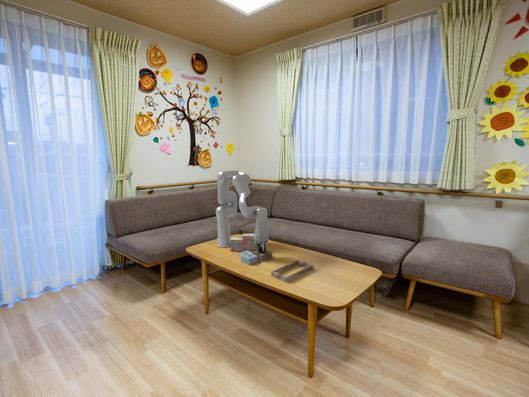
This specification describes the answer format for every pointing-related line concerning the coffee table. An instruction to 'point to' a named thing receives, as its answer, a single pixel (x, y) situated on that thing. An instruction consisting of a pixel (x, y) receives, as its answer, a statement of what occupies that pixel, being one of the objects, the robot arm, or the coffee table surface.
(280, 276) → the rectangular wooden corral frame
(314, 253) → the coffee table surface
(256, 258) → the block
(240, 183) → the robot arm
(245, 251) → the tray
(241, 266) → the coffee table surface
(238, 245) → the stack of blocks
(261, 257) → the square-holed wooden block
